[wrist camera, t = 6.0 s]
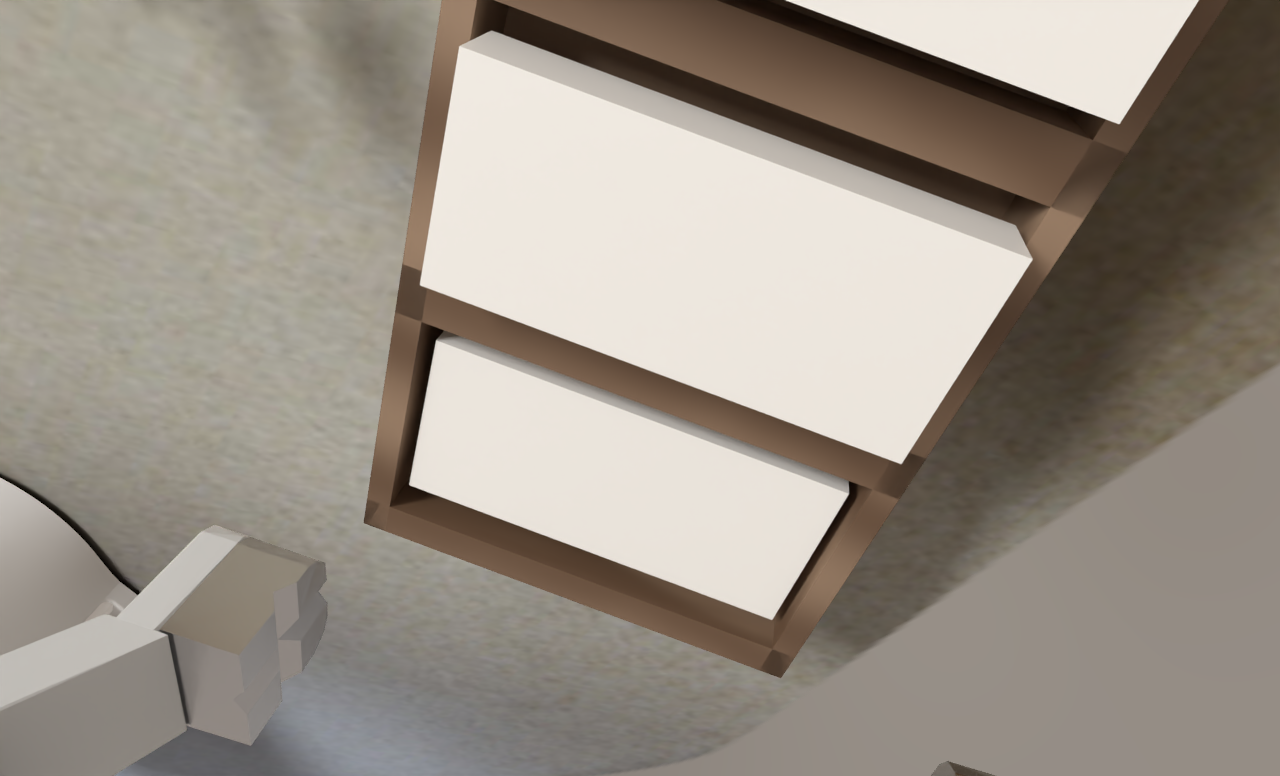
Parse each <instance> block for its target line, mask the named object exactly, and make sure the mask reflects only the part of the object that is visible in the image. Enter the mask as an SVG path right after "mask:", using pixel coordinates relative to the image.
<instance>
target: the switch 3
mask: <svg viewBox="0 0 1280 776" xmlns="http://www.w3.org/2000/svg"><path fill="white" fill-rule="evenodd" d="M786 1H789V2H792V3H794V4H797V5H800V6H802V7H805V8H808V9H810V10H813V11H816V12H818V13H821V14H824V15H827V16H829V17H832V18H835V19H837V20H840V21H843V22H845V23H848V24H851V25H853V26H856V27H859V28H862V29H864V30H867V31H870V32H872V33H875V34H878V35H880V36H883V37H886V38H888V39H891V40H894V41H896V42H899V43H902V44H905V45H907V46H910V47H913V48H915V49H918V50H921V51H923V52H926V53H929V54H931V55H934V56H937V57H939V58H942V59H945V60H948V61H950V62H953V63H956V64H958V65H961V66H964V67H966V68H969V69H972V70H974V71H977V72H980V73H983V74H985V75H988V76H991V77H993V78H996V79H999V80H1001V81H1004V82H1007V83H1009V84H1012V85H1015V86H1017V87H1020V88H1023V89H1026V90H1028V91H1031V92H1034V93H1036V94H1039V95H1042V96H1044V97H1047V98H1050V99H1052V100H1055V101H1058V102H1060V103H1063V104H1066V105H1069V106H1071V107H1074V108H1077V109H1079V110H1082V111H1085V112H1087V113H1090V114H1093V115H1095V116H1098V117H1101V118H1104V119H1106V120H1109V121H1112V122H1114V123H1117V124H1120V123H1121V121H1122V119H1123V118H1124V116H1125V115H1126V113H1127V112H1128V110H1129V109H1130V107H1131V105H1132V104H1133V102H1134V101H1135V99H1136V98H1137V96H1138V94H1139V93H1140V91H1141V90H1142V88H1143V87H1144V85H1145V84H1146V82H1147V80H1148V79H1149V77H1150V76H1151V74H1152V73H1153V71H1154V70H1155V68H1156V66H1157V65H1158V63H1159V62H1160V60H1161V59H1162V57H1163V55H1164V54H1165V52H1166V51H1167V49H1168V48H1169V46H1170V45H1171V43H1172V41H1173V40H1174V38H1175V37H1176V35H1177V34H1178V32H1179V31H1180V29H1181V27H1182V26H1183V24H1184V23H1185V21H1186V20H1187V18H1188V17H1189V15H1190V13H1191V12H1192V10H1193V9H1194V7H1195V6H1196V4H1197V2H1198V1H1199V0H786Z"/></svg>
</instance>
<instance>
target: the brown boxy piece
mask: <svg viewBox="0 0 1280 776" xmlns="http://www.w3.org/2000/svg"><path fill="white" fill-rule="evenodd" d="M1228 1H1229V0H1199V1H1198V2H1197V4H1196V6H1195V7H1194V9H1193V10H1192V12H1191V13H1190V15H1189V17H1188V18H1187V20H1186V21H1185V23H1184V24H1183V26H1182V27H1181V29H1180V31H1179V32H1178V34H1177V35H1176V37H1175V38H1174V40H1173V41H1172V43H1171V45H1170V46H1169V48H1168V49H1167V51H1166V52H1165V54H1164V55H1163V57H1162V59H1161V60H1160V62H1159V63H1158V65H1157V66H1156V68H1155V70H1154V71H1153V73H1152V74H1151V76H1150V77H1149V79H1148V80H1147V82H1146V84H1145V85H1144V87H1143V88H1142V90H1141V91H1140V93H1139V94H1138V96H1137V98H1136V99H1135V101H1134V102H1133V104H1132V105H1131V107H1130V109H1129V110H1128V112H1127V113H1126V115H1125V116H1124V118H1123V119H1122V121H1121V123H1120V124H1117V123H1114V122H1112V121H1109V120H1106V119H1104V118H1101V117H1098V116H1095V115H1093V114H1090V113H1087V112H1085V111H1082V110H1079V109H1077V108H1074V107H1071V106H1069V105H1066V104H1063V103H1060V102H1058V101H1055V100H1052V99H1050V98H1047V97H1044V96H1042V95H1039V94H1036V93H1034V92H1031V91H1028V90H1026V89H1023V88H1020V87H1017V86H1015V85H1012V84H1009V83H1007V82H1004V81H1001V80H999V79H996V78H993V77H991V76H988V75H985V74H983V73H980V72H977V71H974V70H972V69H969V68H966V67H964V66H961V65H958V64H956V63H953V62H950V61H948V60H945V59H942V58H939V57H937V56H934V55H931V54H929V53H926V52H923V51H921V50H918V49H915V48H913V47H910V46H907V45H905V44H902V43H899V42H896V41H894V40H891V39H888V38H886V37H883V36H880V35H878V34H875V33H872V32H870V31H867V30H864V29H862V28H859V27H856V26H853V25H851V24H848V23H845V22H843V21H840V20H837V19H835V18H832V17H829V16H827V15H824V14H821V13H818V12H816V11H813V10H810V9H808V8H805V7H802V6H800V5H797V4H794V3H792V2H789V1H786V0H442V3H441V10H440V16H439V23H438V30H437V36H436V43H435V50H434V56H433V63H432V70H431V76H430V83H429V90H428V97H427V103H426V110H425V117H424V123H423V130H422V137H421V143H420V150H419V157H418V163H417V170H416V177H415V183H414V190H413V197H412V203H411V210H410V217H409V224H408V230H407V237H406V244H405V250H404V257H403V264H402V270H401V277H400V284H399V290H398V297H397V304H396V310H395V317H394V324H393V330H392V337H391V344H390V350H389V357H388V364H387V371H386V377H385V384H384V391H383V397H382V404H381V411H380V417H379V424H378V431H377V437H376V444H375V451H374V457H373V464H372V471H371V477H370V484H369V491H368V498H367V504H366V511H365V518H364V523H365V524H368V525H370V526H373V527H376V528H379V529H381V530H384V531H387V532H389V533H392V534H395V535H397V536H400V537H403V538H405V539H408V540H411V541H413V542H416V543H419V544H422V545H424V546H427V547H430V548H432V549H435V550H438V551H440V552H443V553H446V554H448V555H451V556H454V557H457V558H459V559H462V560H465V561H467V562H470V563H473V564H475V565H478V566H481V567H483V568H486V569H489V570H491V571H494V572H497V573H500V574H502V575H505V576H508V577H510V578H513V579H516V580H518V581H521V582H524V583H526V584H529V585H532V586H535V587H537V588H540V589H543V590H545V591H548V592H551V593H553V594H556V595H559V596H561V597H564V598H567V599H569V600H572V601H575V602H578V603H580V604H583V605H586V606H588V607H591V608H594V609H596V610H599V611H602V612H604V613H607V614H610V615H612V616H615V617H618V618H621V619H623V620H626V621H629V622H631V623H634V624H637V625H639V626H642V627H645V628H647V629H650V630H653V631H656V632H658V633H661V634H664V635H666V636H669V637H672V638H674V639H677V640H680V641H682V642H685V643H688V644H690V645H693V646H696V647H699V648H701V649H704V650H707V651H709V652H712V653H715V654H717V655H720V656H723V657H725V658H728V659H731V660H734V661H736V662H739V663H742V664H744V665H747V666H750V667H752V668H755V669H758V670H760V671H763V672H766V673H768V674H771V675H774V676H777V677H779V678H781V677H782V676H783V674H784V673H785V671H786V670H787V668H788V667H789V665H790V664H791V662H792V661H793V659H794V658H795V656H796V655H797V653H798V652H799V650H800V649H801V647H802V646H803V644H804V643H805V641H806V640H807V638H808V637H809V635H810V634H811V632H812V631H813V629H814V627H815V626H816V624H817V623H818V621H819V620H820V618H821V617H822V615H823V614H824V612H825V611H826V609H827V608H828V606H829V605H830V603H831V602H832V600H833V599H834V597H835V596H836V594H837V593H838V591H839V590H840V588H841V587H842V585H843V584H844V582H845V581H846V579H847V578H848V576H849V575H850V573H851V571H852V570H853V568H854V567H855V565H856V564H857V562H858V561H859V559H860V558H861V556H862V555H863V553H864V552H865V550H866V549H867V547H868V546H869V544H870V543H871V541H872V540H873V538H874V537H875V535H876V534H877V532H878V531H879V529H880V528H881V526H882V525H883V523H884V522H885V520H886V518H887V517H888V515H889V514H890V512H891V511H892V509H893V508H894V506H895V505H896V503H897V502H898V500H899V499H900V497H901V496H902V494H903V493H904V491H905V490H906V488H907V487H908V485H909V484H910V482H911V481H912V479H913V478H914V476H915V475H916V473H917V472H918V470H919V469H920V467H921V466H922V464H923V462H924V461H925V459H926V458H927V456H928V455H929V453H930V452H931V450H932V449H933V447H934V446H935V444H936V443H937V441H938V440H939V438H940V437H941V435H942V434H943V432H944V431H945V429H946V428H947V426H948V425H949V423H950V422H951V420H952V419H953V417H954V416H955V414H956V413H957V411H958V410H959V408H960V406H961V405H962V403H963V402H964V400H965V399H966V397H967V396H968V394H969V393H970V391H971V390H972V388H973V387H974V385H975V384H976V382H977V381H978V379H979V378H980V376H981V375H982V373H983V372H984V370H985V369H986V367H987V366H988V364H989V363H990V361H991V360H992V358H993V357H994V355H995V353H996V352H997V350H998V349H999V347H1000V346H1001V344H1002V343H1003V341H1004V340H1005V338H1006V337H1007V335H1008V334H1009V332H1010V331H1011V329H1012V328H1013V326H1014V325H1015V323H1016V322H1017V320H1018V319H1019V317H1020V316H1021V314H1022V313H1023V311H1024V310H1025V308H1026V307H1027V305H1028V304H1029V302H1030V301H1031V299H1032V297H1033V296H1034V294H1035V293H1036V291H1037V290H1038V288H1039V287H1040V285H1041V284H1042V282H1043V281H1044V279H1045V278H1046V276H1047V275H1048V273H1049V272H1050V270H1051V269H1052V267H1053V266H1054V264H1055V263H1056V261H1057V260H1058V258H1059V257H1060V255H1061V254H1062V252H1063V251H1064V249H1065V248H1066V246H1067V244H1068V243H1069V241H1070V240H1071V238H1072V237H1073V235H1074V234H1075V232H1076V231H1077V229H1078V228H1079V226H1080V225H1081V223H1082V222H1083V220H1084V219H1085V217H1086V216H1087V214H1088V213H1089V211H1090V210H1091V208H1092V207H1093V205H1094V204H1095V202H1096V201H1097V199H1098V198H1099V196H1100V195H1101V193H1102V192H1103V190H1104V188H1105V187H1106V185H1107V184H1108V182H1109V181H1110V179H1111V178H1112V176H1113V175H1114V173H1115V172H1116V170H1117V169H1118V167H1119V166H1120V164H1121V163H1122V161H1123V160H1124V158H1125V157H1126V155H1127V154H1128V152H1129V151H1130V149H1131V148H1132V146H1133V145H1134V143H1135V142H1136V140H1137V139H1138V137H1139V136H1140V134H1141V132H1142V131H1143V129H1144V128H1145V126H1146V125H1147V123H1148V122H1149V120H1150V119H1151V117H1152V116H1153V114H1154V113H1155V111H1156V110H1157V108H1158V107H1159V105H1160V104H1161V102H1162V101H1163V99H1164V98H1165V96H1166V95H1167V93H1168V92H1169V90H1170V89H1171V87H1172V86H1173V84H1174V83H1175V81H1176V79H1177V78H1178V76H1179V75H1180V73H1181V72H1182V70H1183V69H1184V67H1185V66H1186V64H1187V63H1188V61H1189V60H1190V58H1191V57H1192V55H1193V54H1194V52H1195V51H1196V49H1197V48H1198V46H1199V45H1200V43H1201V42H1202V40H1203V39H1204V37H1205V36H1206V34H1207V33H1208V31H1209V30H1210V28H1211V27H1212V25H1213V23H1214V22H1215V20H1216V19H1217V17H1218V16H1219V14H1220V13H1221V11H1222V10H1223V8H1224V7H1225V5H1226V4H1227V2H1228ZM489 31H494V32H497V33H500V34H503V35H505V36H508V37H511V38H513V39H516V40H519V41H521V42H524V43H527V44H529V45H532V46H535V47H537V48H540V49H543V50H546V51H548V52H551V53H554V54H556V55H559V56H562V57H564V58H567V59H570V60H572V61H575V62H578V63H581V64H583V65H586V66H589V67H591V68H594V69H597V70H599V71H602V72H605V73H607V74H610V75H613V76H615V77H618V78H621V79H624V80H626V81H629V82H632V83H634V84H637V85H640V86H642V87H645V88H648V89H650V90H653V91H656V92H658V93H661V94H664V95H667V96H669V97H672V98H675V99H677V100H680V101H683V102H685V103H688V104H691V105H693V106H696V107H699V108H702V109H704V110H707V111H710V112H712V113H715V114H718V115H720V116H723V117H726V118H728V119H731V120H734V121H736V122H739V123H742V124H745V125H747V126H750V127H753V128H755V129H758V130H761V131H763V132H766V133H769V134H771V135H774V136H777V137H780V138H782V139H785V140H788V141H790V142H793V143H796V144H798V145H801V146H804V147H806V148H809V149H812V150H814V151H817V152H820V153H823V154H825V155H828V156H831V157H833V158H836V159H839V160H841V161H844V162H847V163H849V164H852V165H855V166H857V167H860V168H863V169H866V170H868V171H871V172H874V173H876V174H879V175H882V176H884V177H887V178H890V179H892V180H895V181H898V182H901V183H903V184H906V185H909V186H911V187H914V188H917V189H919V190H922V191H925V192H927V193H930V194H933V195H935V196H938V197H941V198H944V199H946V200H949V201H952V202H954V203H957V204H960V205H962V206H965V207H968V208H970V209H973V210H976V211H978V212H981V213H984V214H987V215H989V216H992V217H995V218H997V219H1000V220H1003V221H1005V222H1008V223H1011V224H1013V225H1016V227H1017V229H1018V231H1019V233H1020V235H1021V237H1022V239H1023V241H1024V243H1025V245H1026V247H1027V249H1028V251H1029V253H1030V255H1031V257H1032V259H1033V260H1032V261H1031V263H1030V264H1029V266H1028V268H1027V269H1026V271H1025V272H1024V274H1023V275H1022V277H1021V279H1020V280H1019V282H1018V283H1017V285H1016V286H1015V288H1014V289H1013V291H1012V293H1011V294H1010V296H1009V297H1008V299H1007V300H1006V302H1005V303H1004V305H1003V307H1002V308H1001V310H1000V311H999V313H998V314H997V316H996V318H995V319H994V321H993V322H992V324H991V325H990V327H989V328H988V330H987V332H986V333H985V335H984V336H983V338H982V339H981V341H980V342H979V344H978V346H977V347H976V349H975V350H974V352H973V353H972V355H971V357H970V358H969V360H968V361H967V363H966V364H965V366H964V367H963V369H962V371H961V372H960V374H959V375H958V377H957V378H956V380H955V381H954V383H953V385H952V386H951V388H950V389H949V391H948V392H947V394H946V396H945V397H944V399H943V400H942V402H941V403H940V405H939V406H938V408H937V410H936V411H935V413H934V414H933V416H932V417H931V419H930V420H929V422H928V424H927V425H926V427H925V428H924V430H923V431H922V433H921V434H920V436H919V438H918V439H917V441H916V442H915V444H914V445H913V447H912V449H911V450H910V452H909V453H908V455H907V456H906V458H905V459H904V461H903V463H902V464H899V463H897V462H894V461H891V460H888V459H886V458H883V457H880V456H878V455H875V454H872V453H870V452H867V451H864V450H862V449H859V448H856V447H854V446H851V445H848V444H845V443H843V442H840V441H837V440H835V439H832V438H829V437H827V436H824V435H821V434H819V433H816V432H813V431H810V430H808V429H805V428H802V427H800V426H797V425H794V424H792V423H789V422H786V421H784V420H781V419H778V418H776V417H773V416H770V415H767V414H765V413H762V412H759V411H757V410H754V409H751V408H749V407H746V406H743V405H741V404H738V403H735V402H733V401H730V400H727V399H724V398H722V397H719V396H716V395H714V394H711V393H708V392H706V391H703V390H700V389H698V388H695V387H692V386H689V385H687V384H684V383H681V382H679V381H676V380H673V379H671V378H668V377H665V376H663V375H660V374H657V373H655V372H652V371H649V370H646V369H644V368H641V367H638V366H636V365H633V364H630V363H628V362H625V361H622V360H620V359H617V358H614V357H611V356H609V355H606V354H603V353H601V352H598V351H595V350H593V349H590V348H587V347H585V346H582V345H579V344H577V343H574V342H571V341H568V340H566V339H563V338H560V337H558V336H555V335H552V334H550V333H547V332H544V331H542V330H539V329H536V328H534V327H531V326H528V325H525V324H523V323H520V322H517V321H515V320H512V319H509V318H507V317H504V316H501V315H499V314H496V313H493V312H490V311H488V310H485V309H482V308H480V307H477V306H474V305H472V304H469V303H466V302H464V301H461V300H458V299H456V298H453V297H450V296H447V295H445V294H442V293H439V292H437V291H434V290H431V289H429V288H426V287H423V286H421V285H420V280H421V274H422V268H423V262H424V256H425V250H426V244H427V238H428V232H429V226H430V220H431V214H432V208H433V202H434V196H435V190H436V184H437V178H438V172H439V166H440V160H441V154H442V148H443V142H444V135H445V129H446V123H447V117H448V111H449V105H450V99H451V93H452V87H453V81H454V75H455V69H456V63H457V57H458V51H459V46H460V45H462V44H465V43H467V42H469V41H471V40H473V39H475V38H477V37H479V36H481V35H483V34H485V33H487V32H489ZM444 330H445V331H447V332H450V333H453V334H455V335H458V336H461V337H463V338H466V339H469V340H471V341H474V342H477V343H480V344H482V345H485V346H488V347H490V348H493V349H496V350H498V351H501V352H504V353H506V354H509V355H512V356H515V357H517V358H520V359H523V360H525V361H528V362H531V363H533V364H536V365H539V366H541V367H544V368H547V369H549V370H552V371H555V372H558V373H560V374H563V375H566V376H568V377H571V378H574V379H576V380H579V381H582V382H584V383H587V384H590V385H593V386H595V387H598V388H601V389H603V390H606V391H609V392H611V393H614V394H617V395H619V396H622V397H625V398H627V399H630V400H633V401H636V402H638V403H641V404H644V405H646V406H649V407H652V408H654V409H657V410H660V411H662V412H665V413H668V414H670V415H673V416H676V417H679V418H681V419H684V420H687V421H689V422H692V423H695V424H697V425H700V426H703V427H705V428H708V429H711V430H714V431H716V432H719V433H722V434H724V435H727V436H730V437H732V438H735V439H738V440H740V441H743V442H746V443H748V444H751V445H754V446H757V447H759V448H762V449H765V450H767V451H770V452H773V453H775V454H778V455H781V456H783V457H786V458H789V459H792V460H794V461H797V462H800V463H802V464H805V465H808V466H810V467H813V468H816V469H818V470H821V471H824V472H826V473H829V474H832V475H835V476H837V477H840V478H843V479H845V480H848V481H849V495H848V496H847V498H846V500H845V501H844V503H843V505H842V506H841V508H840V510H839V511H838V513H837V515H836V516H835V518H834V519H833V521H832V523H831V524H830V526H829V528H828V529H827V531H826V533H825V534H824V536H823V537H822V539H821V541H820V542H819V544H818V546H817V547H816V549H815V551H814V552H813V554H812V556H811V557H810V559H809V560H808V562H807V564H806V565H805V567H804V569H803V570H802V572H801V574H800V575H799V577H798V579H797V580H796V582H795V583H794V585H793V587H792V588H791V590H790V592H789V593H788V595H787V597H786V598H785V600H784V601H783V603H782V605H781V606H780V608H779V610H778V611H777V613H776V615H775V616H774V618H773V620H770V619H768V618H765V617H762V616H760V615H757V614H754V613H752V612H749V611H746V610H744V609H741V608H738V607H736V606H733V605H730V604H727V603H725V602H722V601H719V600H717V599H714V598H711V597H709V596H706V595H703V594H701V593H698V592H695V591H692V590H690V589H687V588H684V587H682V586H679V585H676V584H674V583H671V582H668V581H666V580H663V579H660V578H658V577H655V576H652V575H649V574H647V573H644V572H641V571H639V570H636V569H633V568H631V567H628V566H625V565H623V564H620V563H617V562H614V561H612V560H609V559H606V558H604V557H601V556H598V555H596V554H593V553H590V552H588V551H585V550H582V549H580V548H577V547H574V546H571V545H569V544H566V543H563V542H561V541H558V540H555V539H553V538H550V537H547V536H545V535H542V534H539V533H537V532H534V531H531V530H528V529H526V528H523V527H520V526H518V525H515V524H512V523H510V522H507V521H504V520H502V519H499V518H496V517H493V516H491V515H488V514H485V513H483V512H480V511H477V510H475V509H472V508H469V507H467V506H464V505H461V504H459V503H456V502H453V501H450V500H448V499H445V498H442V497H440V496H437V495H434V494H432V493H429V492H426V491H424V490H421V489H418V488H416V487H413V486H410V485H409V482H410V477H411V471H412V466H413V461H414V455H415V450H416V445H417V439H418V434H419V429H420V423H421V418H422V413H423V407H424V402H425V397H426V391H427V386H428V381H429V375H430V370H431V365H432V359H433V354H434V349H435V343H436V340H437V339H438V337H439V336H440V335H441V334H442V333H443V331H444Z"/></svg>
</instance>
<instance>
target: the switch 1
mask: <svg viewBox="0 0 1280 776" xmlns="http://www.w3.org/2000/svg"><path fill="white" fill-rule="evenodd" d="M1032 260H1033V259H1032V257H1031V255H1030V253H1029V251H1028V249H1027V247H1026V245H1025V243H1024V241H1023V239H1022V237H1021V235H1020V233H1019V231H1018V229H1017V227H1016V225H1013V224H1011V223H1008V222H1005V221H1003V220H1000V219H997V218H995V217H992V216H989V215H987V214H984V213H981V212H978V211H976V210H973V209H970V208H968V207H965V206H962V205H960V204H957V203H954V202H952V201H949V200H946V199H944V198H941V197H938V196H935V195H933V194H930V193H927V192H925V191H922V190H919V189H917V188H914V187H911V186H909V185H906V184H903V183H901V182H898V181H895V180H892V179H890V178H887V177H884V176H882V175H879V174H876V173H874V172H871V171H868V170H866V169H863V168H860V167H857V166H855V165H852V164H849V163H847V162H844V161H841V160H839V159H836V158H833V157H831V156H828V155H825V154H823V153H820V152H817V151H814V150H812V149H809V148H806V147H804V146H801V145H798V144H796V143H793V142H790V141H788V140H785V139H782V138H780V137H777V136H774V135H771V134H769V133H766V132H763V131H761V130H758V129H755V128H753V127H750V126H747V125H745V124H742V123H739V122H736V121H734V120H731V119H728V118H726V117H723V116H720V115H718V114H715V113H712V112H710V111H707V110H704V109H702V108H699V107H696V106H693V105H691V104H688V103H685V102H683V101H680V100H677V99H675V98H672V97H669V96H667V95H664V94H661V93H658V92H656V91H653V90H650V89H648V88H645V87H642V86H640V85H637V84H634V83H632V82H629V81H626V80H624V79H621V78H618V77H615V76H613V75H610V74H607V73H605V72H602V71H599V70H597V69H594V68H591V67H589V66H586V65H583V64H581V63H578V62H575V61H572V60H570V59H567V58H564V57H562V56H559V55H556V54H554V53H551V52H548V51H546V50H543V49H540V48H537V47H535V46H532V45H529V44H527V43H524V42H521V41H519V40H516V39H513V38H511V37H508V36H505V35H503V34H500V33H497V32H494V31H489V32H487V33H485V34H483V35H481V36H479V37H477V38H475V39H473V40H471V41H469V42H467V43H465V44H462V45H460V46H459V51H458V57H457V63H456V69H455V75H454V81H453V87H452V93H451V99H450V105H449V111H448V117H447V123H446V129H445V135H444V142H443V148H442V154H441V160H440V166H439V172H438V178H437V184H436V190H435V196H434V202H433V208H432V214H431V220H430V226H429V232H428V238H427V244H426V250H425V256H424V262H423V268H422V274H421V280H420V285H421V286H423V287H426V288H429V289H431V290H434V291H437V292H439V293H442V294H445V295H447V296H450V297H453V298H456V299H458V300H461V301H464V302H466V303H469V304H472V305H474V306H477V307H480V308H482V309H485V310H488V311H490V312H493V313H496V314H499V315H501V316H504V317H507V318H509V319H512V320H515V321H517V322H520V323H523V324H525V325H528V326H531V327H534V328H536V329H539V330H542V331H544V332H547V333H550V334H552V335H555V336H558V337H560V338H563V339H566V340H568V341H571V342H574V343H577V344H579V345H582V346H585V347H587V348H590V349H593V350H595V351H598V352H601V353H603V354H606V355H609V356H611V357H614V358H617V359H620V360H622V361H625V362H628V363H630V364H633V365H636V366H638V367H641V368H644V369H646V370H649V371H652V372H655V373H657V374H660V375H663V376H665V377H668V378H671V379H673V380H676V381H679V382H681V383H684V384H687V385H689V386H692V387H695V388H698V389H700V390H703V391H706V392H708V393H711V394H714V395H716V396H719V397H722V398H724V399H727V400H730V401H733V402H735V403H738V404H741V405H743V406H746V407H749V408H751V409H754V410H757V411H759V412H762V413H765V414H767V415H770V416H773V417H776V418H778V419H781V420H784V421H786V422H789V423H792V424H794V425H797V426H800V427H802V428H805V429H808V430H810V431H813V432H816V433H819V434H821V435H824V436H827V437H829V438H832V439H835V440H837V441H840V442H843V443H845V444H848V445H851V446H854V447H856V448H859V449H862V450H864V451H867V452H870V453H872V454H875V455H878V456H880V457H883V458H886V459H888V460H891V461H894V462H897V463H899V464H902V463H903V461H904V459H905V458H906V456H907V455H908V453H909V452H910V450H911V449H912V447H913V445H914V444H915V442H916V441H917V439H918V438H919V436H920V434H921V433H922V431H923V430H924V428H925V427H926V425H927V424H928V422H929V420H930V419H931V417H932V416H933V414H934V413H935V411H936V410H937V408H938V406H939V405H940V403H941V402H942V400H943V399H944V397H945V396H946V394H947V392H948V391H949V389H950V388H951V386H952V385H953V383H954V381H955V380H956V378H957V377H958V375H959V374H960V372H961V371H962V369H963V367H964V366H965V364H966V363H967V361H968V360H969V358H970V357H971V355H972V353H973V352H974V350H975V349H976V347H977V346H978V344H979V342H980V341H981V339H982V338H983V336H984V335H985V333H986V332H987V330H988V328H989V327H990V325H991V324H992V322H993V321H994V319H995V318H996V316H997V314H998V313H999V311H1000V310H1001V308H1002V307H1003V305H1004V303H1005V302H1006V300H1007V299H1008V297H1009V296H1010V294H1011V293H1012V291H1013V289H1014V288H1015V286H1016V285H1017V283H1018V282H1019V280H1020V279H1021V277H1022V275H1023V274H1024V272H1025V271H1026V269H1027V268H1028V266H1029V264H1030V263H1031V261H1032Z"/></svg>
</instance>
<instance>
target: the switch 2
mask: <svg viewBox="0 0 1280 776" xmlns="http://www.w3.org/2000/svg"><path fill="white" fill-rule="evenodd" d="M409 485H410V486H413V487H416V488H418V489H421V490H424V491H426V492H429V493H432V494H434V495H437V496H440V497H442V498H445V499H448V500H450V501H453V502H456V503H459V504H461V505H464V506H467V507H469V508H472V509H475V510H477V511H480V512H483V513H485V514H488V515H491V516H493V517H496V518H499V519H502V520H504V521H507V522H510V523H512V524H515V525H518V526H520V527H523V528H526V529H528V530H531V531H534V532H537V533H539V534H542V535H545V536H547V537H550V538H553V539H555V540H558V541H561V542H563V543H566V544H569V545H571V546H574V547H577V548H580V549H582V550H585V551H588V552H590V553H593V554H596V555H598V556H601V557H604V558H606V559H609V560H612V561H614V562H617V563H620V564H623V565H625V566H628V567H631V568H633V569H636V570H639V571H641V572H644V573H647V574H649V575H652V576H655V577H658V578H660V579H663V580H666V581H668V582H671V583H674V584H676V585H679V586H682V587H684V588H687V589H690V590H692V591H695V592H698V593H701V594H703V595H706V596H709V597H711V598H714V599H717V600H719V601H722V602H725V603H727V604H730V605H733V606H736V607H738V608H741V609H744V610H746V611H749V612H752V613H754V614H757V615H760V616H762V617H765V618H768V619H770V620H773V618H774V616H775V615H776V613H777V611H778V610H779V608H780V606H781V605H782V603H783V601H784V600H785V598H786V597H787V595H788V593H789V592H790V590H791V588H792V587H793V585H794V583H795V582H796V580H797V579H798V577H799V575H800V574H801V572H802V570H803V569H804V567H805V565H806V564H807V562H808V560H809V559H810V557H811V556H812V554H813V552H814V551H815V549H816V547H817V546H818V544H819V542H820V541H821V539H822V537H823V536H824V534H825V533H826V531H827V529H828V528H829V526H830V524H831V523H832V521H833V519H834V518H835V516H836V515H837V513H838V511H839V510H840V508H841V506H842V505H843V503H844V501H845V500H846V498H847V496H848V495H849V481H848V480H845V479H843V478H840V477H837V476H835V475H832V474H829V473H826V472H824V471H821V470H818V469H816V468H813V467H810V466H808V465H805V464H802V463H800V462H797V461H794V460H792V459H789V458H786V457H783V456H781V455H778V454H775V453H773V452H770V451H767V450H765V449H762V448H759V447H757V446H754V445H751V444H748V443H746V442H743V441H740V440H738V439H735V438H732V437H730V436H727V435H724V434H722V433H719V432H716V431H714V430H711V429H708V428H705V427H703V426H700V425H697V424H695V423H692V422H689V421H687V420H684V419H681V418H679V417H676V416H673V415H670V414H668V413H665V412H662V411H660V410H657V409H654V408H652V407H649V406H646V405H644V404H641V403H638V402H636V401H633V400H630V399H627V398H625V397H622V396H619V395H617V394H614V393H611V392H609V391H606V390H603V389H601V388H598V387H595V386H593V385H590V384H587V383H584V382H582V381H579V380H576V379H574V378H571V377H568V376H566V375H563V374H560V373H558V372H555V371H552V370H549V369H547V368H544V367H541V366H539V365H536V364H533V363H531V362H528V361H525V360H523V359H520V358H517V357H515V356H512V355H509V354H506V353H504V352H501V351H498V350H496V349H493V348H490V347H488V346H485V345H482V344H480V343H477V342H474V341H471V340H469V339H466V338H463V337H461V336H458V335H455V334H453V333H450V332H447V331H445V330H444V331H443V333H442V334H441V335H440V336H439V337H438V339H437V340H436V343H435V349H434V354H433V359H432V365H431V370H430V375H429V381H428V386H427V391H426V397H425V402H424V407H423V413H422V418H421V423H420V429H419V434H418V439H417V445H416V450H415V455H414V461H413V466H412V471H411V477H410V482H409Z"/></svg>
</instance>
